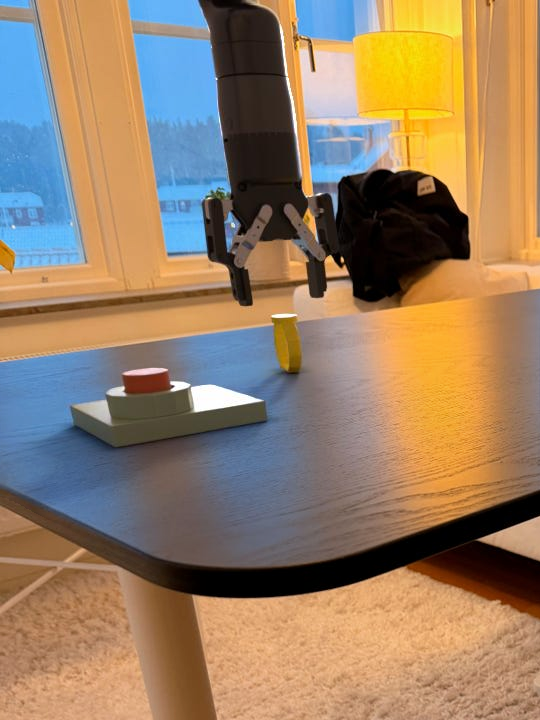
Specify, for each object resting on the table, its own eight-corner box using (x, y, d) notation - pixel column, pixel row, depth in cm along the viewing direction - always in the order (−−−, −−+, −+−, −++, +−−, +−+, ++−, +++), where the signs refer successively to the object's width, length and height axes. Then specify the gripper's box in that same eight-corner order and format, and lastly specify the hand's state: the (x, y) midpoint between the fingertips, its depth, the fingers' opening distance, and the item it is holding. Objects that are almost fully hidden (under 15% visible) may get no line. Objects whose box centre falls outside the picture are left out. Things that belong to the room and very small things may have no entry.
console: (115, 447, 69) (105, 402, 68) (73, 424, 78) (64, 384, 76) (268, 420, 76) (262, 379, 74) (214, 402, 85) (207, 364, 83)
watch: (271, 368, 102) (264, 314, 99) (295, 366, 103) (288, 312, 100) (286, 375, 97) (278, 318, 94) (310, 372, 98) (303, 316, 95)
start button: (134, 399, 70) (129, 377, 70) (120, 393, 73) (115, 372, 72) (178, 393, 72) (174, 371, 72) (163, 387, 75) (159, 366, 74)
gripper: (305, 134, 96) (323, 294, 103) (177, 134, 88) (207, 306, 96) (339, 128, 90) (355, 297, 98) (206, 128, 83) (235, 310, 90)
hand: (282, 301), depth 97 cm, fingers open, 8 cm apart
